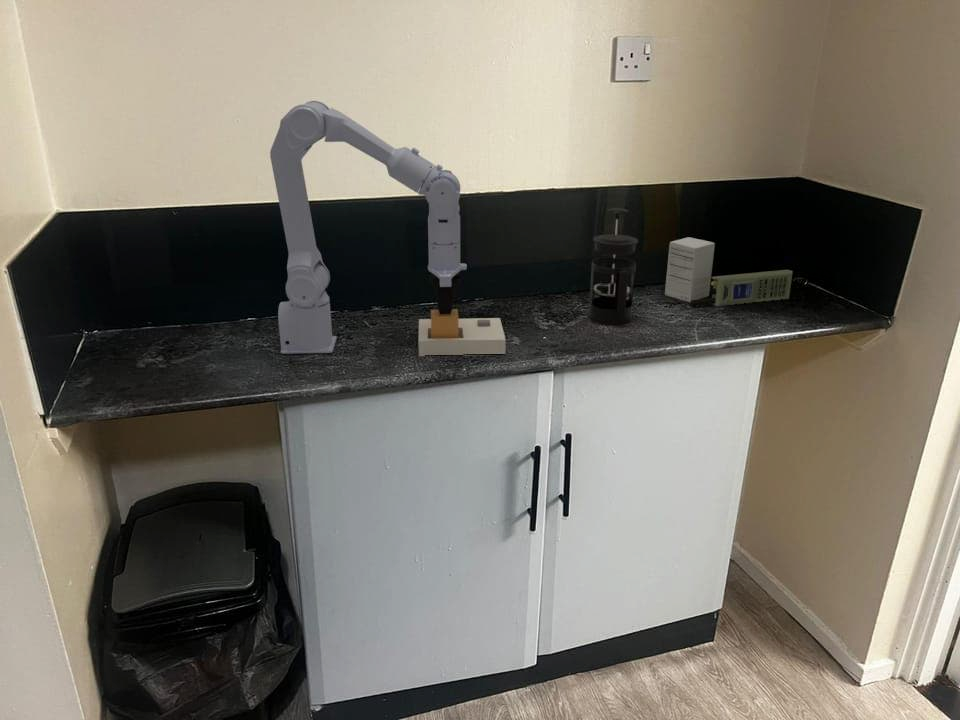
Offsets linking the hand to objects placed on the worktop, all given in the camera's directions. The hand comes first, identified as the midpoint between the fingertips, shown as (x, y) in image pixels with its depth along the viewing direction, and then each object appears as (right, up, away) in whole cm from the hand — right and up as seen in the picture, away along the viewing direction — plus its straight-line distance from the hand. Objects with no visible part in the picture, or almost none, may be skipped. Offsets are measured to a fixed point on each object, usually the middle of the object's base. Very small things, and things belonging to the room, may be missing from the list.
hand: (445, 313), depth 144 cm
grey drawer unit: (+54, +6, +34) cm, 64 cm away
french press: (+34, 0, +19) cm, 39 cm away
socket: (+3, -6, +5) cm, 8 cm away
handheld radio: (+65, +4, +30) cm, 71 cm away
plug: (0, -6, +3) cm, 7 cm away
